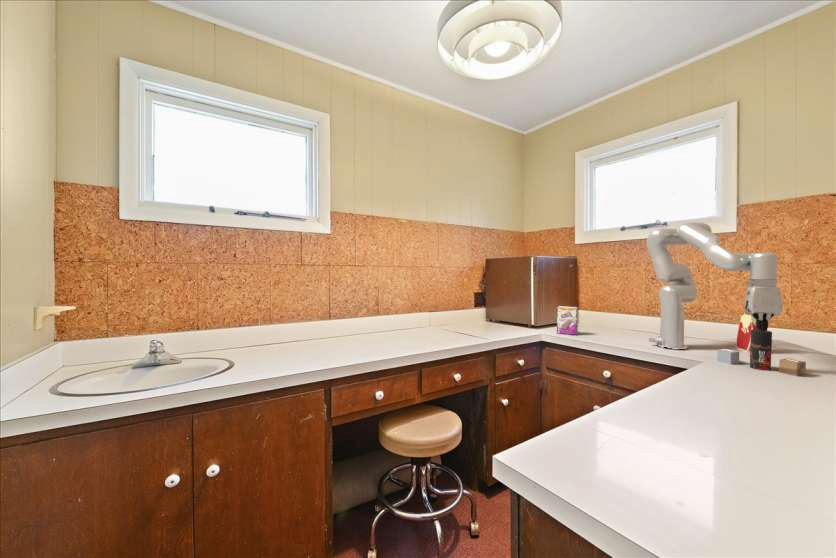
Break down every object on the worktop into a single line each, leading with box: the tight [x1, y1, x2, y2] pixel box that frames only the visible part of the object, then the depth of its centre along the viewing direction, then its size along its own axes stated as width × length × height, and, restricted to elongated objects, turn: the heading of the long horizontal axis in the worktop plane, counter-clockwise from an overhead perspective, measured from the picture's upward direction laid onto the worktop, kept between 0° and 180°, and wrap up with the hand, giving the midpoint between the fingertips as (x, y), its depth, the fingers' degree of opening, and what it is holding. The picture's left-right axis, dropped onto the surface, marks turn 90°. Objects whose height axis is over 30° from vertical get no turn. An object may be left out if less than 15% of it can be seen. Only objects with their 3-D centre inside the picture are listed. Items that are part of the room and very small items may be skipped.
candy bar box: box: [556, 305, 579, 336], centre depth 203 cm, size 11×5×16 cm, turn 58°
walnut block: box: [778, 357, 807, 377], centre depth 128 cm, size 5×5×5 cm
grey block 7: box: [716, 348, 740, 365], centre depth 143 cm, size 5×5×5 cm
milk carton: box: [735, 310, 758, 353], centre depth 161 cm, size 9×9×20 cm
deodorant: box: [749, 330, 773, 372], centre depth 135 cm, size 6×6×15 cm
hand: (761, 329), depth 134 cm, fingers closed
